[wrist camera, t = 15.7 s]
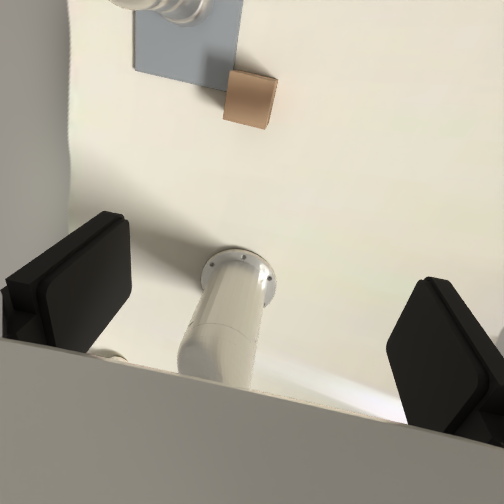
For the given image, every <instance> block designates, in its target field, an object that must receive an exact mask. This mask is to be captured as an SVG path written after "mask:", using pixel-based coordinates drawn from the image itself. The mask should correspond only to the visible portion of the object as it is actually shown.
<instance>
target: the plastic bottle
mask: <svg viewBox="0 0 504 504" xmlns="http://www.w3.org/2000/svg"><path fill="white" fill-rule="evenodd" d="M109 1H111V2H112V3H113V4H115V5H117V6H119V7H121V8H124V9H129V10H135V11H142V10H154V11H157V12H159V13H160V14H161V15H162V16H163V17H164V18H165V19H167V20H168V21H169V22H171V23H172V24H174V25H177V26H180V27H192V26H195V25H198V24H200V23H202V22H203V21H204V20H205V19H206V18H207V17H208V15H209V14H210V12H211V10H212V7H213V3H214V0H109Z"/></svg>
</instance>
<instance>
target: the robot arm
mask: <svg viewBox="0 0 504 504" xmlns="http://www.w3.org/2000/svg"><path fill="white" fill-rule="evenodd" d="M244 255H245V256H244ZM5 280H6V283H7V286H5V287H4V288H3V289H1V290H0V504H504V358H503V356H502V355H501V354H500V352H499V351H498V349H497V348H496V346H495V345H494V344H493V342H492V341H491V339H490V338H489V336H488V335H487V334H486V332H485V331H484V329H483V328H482V327H481V325H480V324H479V322H478V321H477V319H476V318H475V317H474V315H473V314H472V312H471V311H470V310H469V308H468V307H467V305H466V304H465V302H464V301H463V300H462V298H461V297H460V295H459V294H458V293H457V291H456V290H455V288H454V287H453V286H452V284H451V283H450V282H449V281H448V280H444V279H439V278H434V277H429V276H428V277H426V278H425V279H424V280H419V281H418V282H417V284H416V286H415V288H414V290H413V292H412V294H411V296H410V298H409V300H408V302H407V304H406V306H405V308H404V310H403V312H402V314H401V316H400V317H399V319H398V321H397V323H396V325H395V327H394V329H393V331H392V333H391V335H390V337H389V339H388V342H387V345H386V352H387V356H388V359H389V362H390V366H391V369H392V372H393V376H394V379H395V382H396V386H397V389H398V392H399V395H400V399H401V402H402V405H403V409H404V412H405V415H406V419H407V422H408V425H407V424H403V423H399V422H394V421H390V420H385V419H381V418H377V417H372V416H368V415H363V414H359V413H355V412H350V411H346V410H341V409H337V408H332V407H328V406H324V405H319V404H315V403H310V402H306V401H301V400H297V399H292V398H288V397H283V396H279V395H274V394H270V393H265V392H261V391H256V390H252V389H250V385H251V378H252V371H253V365H254V359H255V352H256V347H257V341H258V335H259V329H260V323H261V317H262V311H263V308H265V307H266V306H267V305H268V304H269V303H270V302H271V301H272V299H273V297H274V295H275V291H276V277H275V274H274V272H273V270H272V268H271V267H270V265H269V264H268V263H267V262H266V261H265V260H264V259H263V258H261V257H260V256H258V255H256V254H254V253H252V252H249V251H246V250H240V249H230V250H225V251H221V252H219V253H217V254H215V255H214V256H212V257H211V258H210V259H209V260H208V261H207V263H206V265H205V266H204V269H203V271H202V275H201V283H202V287H203V290H204V292H203V294H202V296H201V298H200V301H199V303H198V305H197V307H196V310H195V312H194V314H193V316H192V319H191V321H190V323H189V325H188V328H187V330H186V332H185V334H184V337H183V339H182V341H181V344H180V346H179V350H178V355H177V367H178V373H174V372H169V371H165V370H160V369H156V368H151V367H146V366H142V365H137V364H132V363H128V362H123V361H118V360H114V359H109V358H104V357H100V356H95V355H90V354H86V352H87V351H88V350H89V348H90V347H91V346H92V345H93V343H94V342H95V341H96V339H97V338H98V337H99V335H100V334H101V333H102V332H103V330H104V329H105V328H106V326H107V325H108V324H109V322H110V321H111V320H112V319H113V317H114V316H115V315H116V313H117V312H118V311H119V309H120V308H121V307H122V306H123V304H124V303H125V302H126V300H127V299H128V298H129V296H130V294H131V290H132V280H131V255H130V230H129V222H128V220H125V219H124V216H123V215H122V214H117V213H112V212H107V211H103V212H101V213H99V214H98V215H97V216H95V217H94V218H92V219H91V220H89V221H88V222H87V223H85V224H84V225H82V226H81V227H79V228H78V229H77V230H75V231H74V232H72V233H71V234H69V235H68V236H66V237H65V238H64V239H62V240H61V241H59V242H58V243H57V244H55V245H54V246H52V247H51V248H49V249H48V250H46V251H45V252H44V253H42V254H41V255H39V256H38V257H36V258H35V259H34V260H32V261H31V262H29V263H28V264H26V265H25V266H23V267H22V268H21V269H19V270H18V271H16V272H15V273H14V274H12V275H11V276H9V277H8V278H6V279H5Z"/></svg>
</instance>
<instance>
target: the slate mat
mask: <svg viewBox="0 0 504 504" xmlns="http://www.w3.org/2000/svg"><path fill="white" fill-rule="evenodd" d="M242 6H243V0H214V3H213V7H212V10H211V12H210V14H209V15H208V17H207V18H206V19H205V20H204V21H203V22H202V23H200V24H198V25H195V26H192V27H180V26H177V25H174V24H172V23H171V22H169V21H168V20H167V19H165V18H164V17H163V16H162V15H161V14H160V13H159V12H157V11H154V10H142V11H135V71H139V72H143V73H148V74H152V75H156V76H161V77H165V78H169V79H174V80H178V81H182V82H187V83H191V84H196V85H200V86H204V87H209V88H213V89H217V90H222V91H226V92H227V87H228V80H229V74H230V71H232V70H233V69H234V62H235V55H236V48H237V41H238V34H239V27H240V20H241V13H242Z"/></svg>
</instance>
